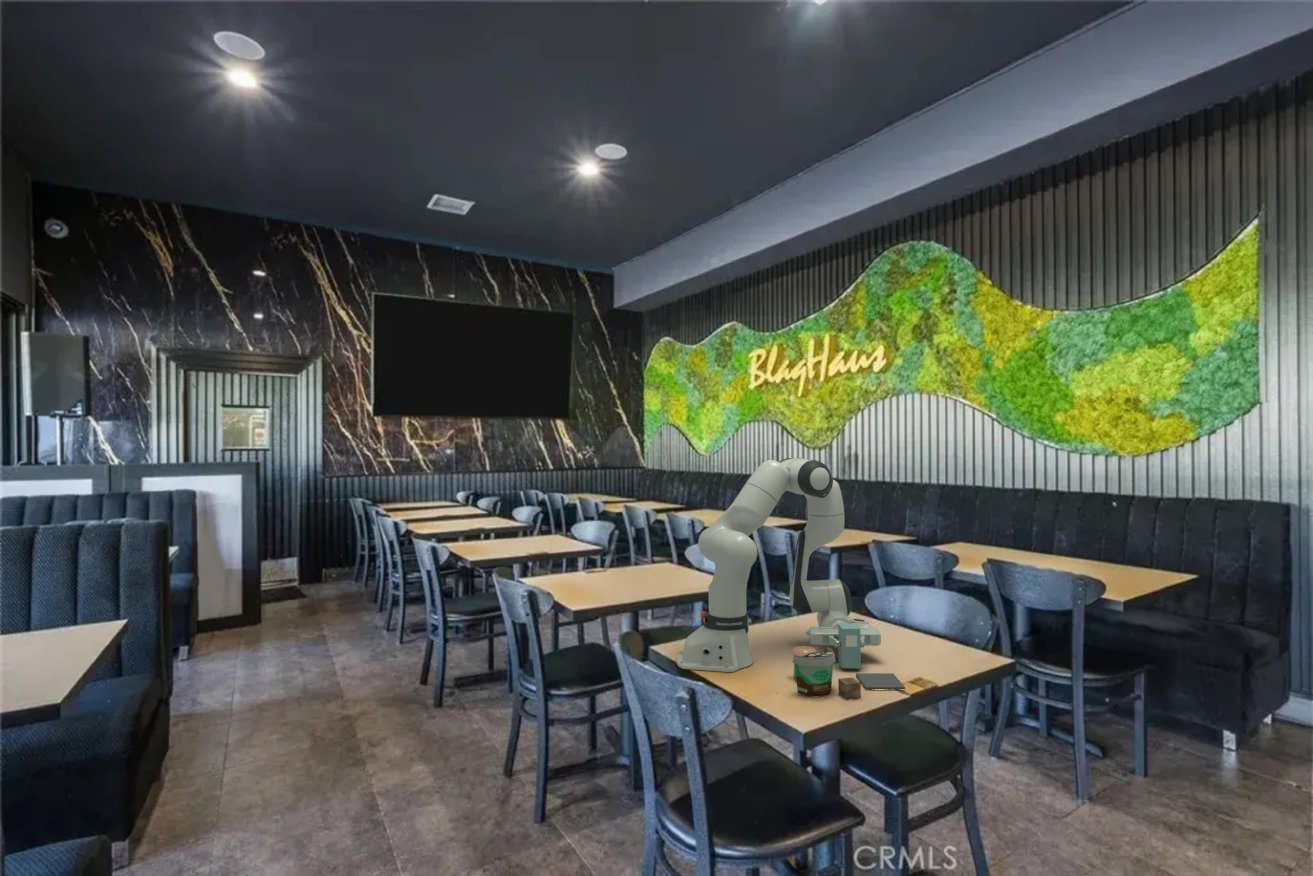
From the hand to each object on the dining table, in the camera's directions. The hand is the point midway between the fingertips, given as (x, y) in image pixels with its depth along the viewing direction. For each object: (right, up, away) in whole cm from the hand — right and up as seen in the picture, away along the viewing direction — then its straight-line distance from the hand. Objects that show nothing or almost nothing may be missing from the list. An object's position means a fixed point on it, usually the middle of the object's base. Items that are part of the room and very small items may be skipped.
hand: (850, 644), depth 182 cm
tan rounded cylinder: (-14, -7, -6) cm, 17 cm away
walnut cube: (-6, -7, -19) cm, 21 cm away
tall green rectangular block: (0, -6, +1) cm, 6 cm away
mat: (+5, -7, -10) cm, 13 cm away
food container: (-13, -7, -16) cm, 22 cm away
